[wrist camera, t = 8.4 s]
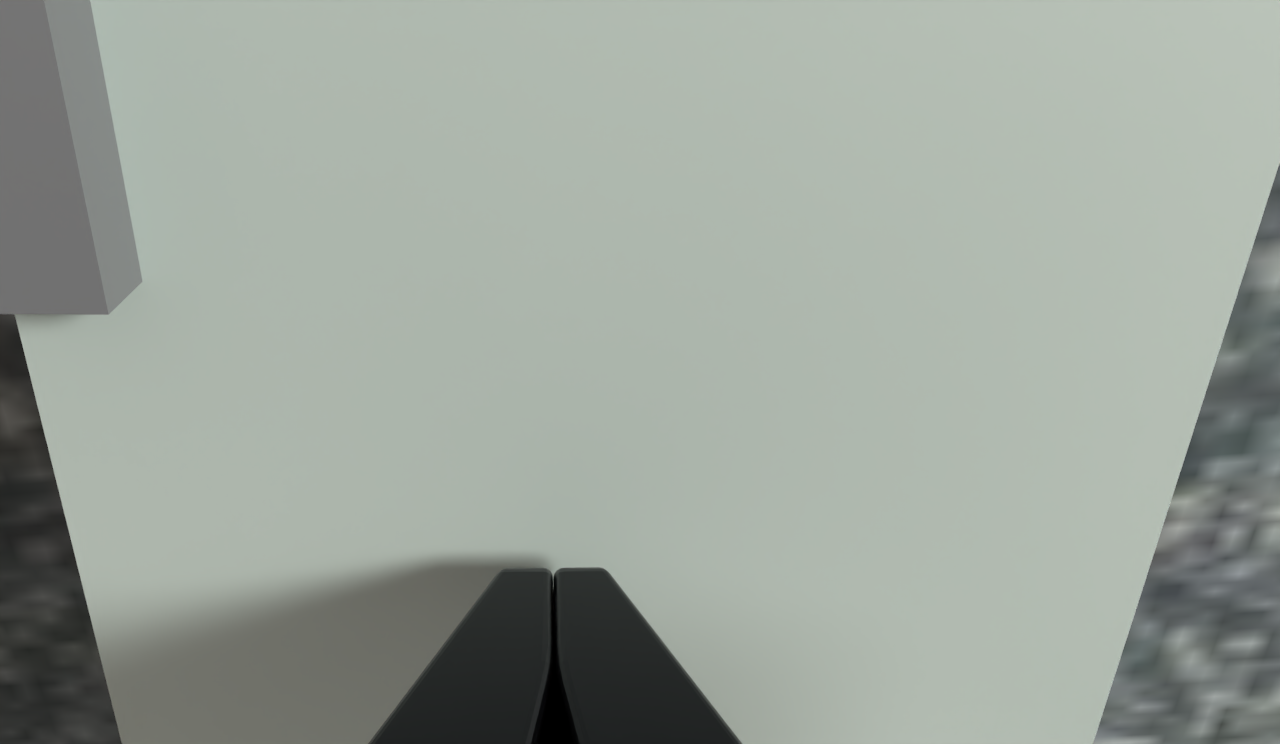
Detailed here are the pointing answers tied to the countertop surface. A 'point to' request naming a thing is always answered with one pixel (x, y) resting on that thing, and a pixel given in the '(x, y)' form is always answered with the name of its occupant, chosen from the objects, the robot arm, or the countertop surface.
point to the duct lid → (627, 337)
